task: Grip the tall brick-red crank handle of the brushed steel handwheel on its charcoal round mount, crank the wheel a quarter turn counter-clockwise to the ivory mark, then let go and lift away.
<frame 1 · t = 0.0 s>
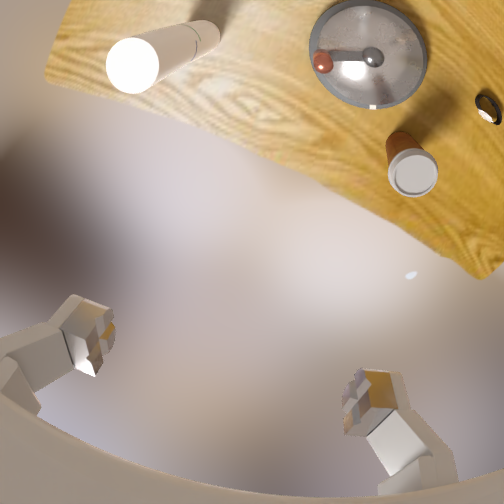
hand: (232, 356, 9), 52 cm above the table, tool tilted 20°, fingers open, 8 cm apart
cylindrical container: (201, 37, 44), on the table
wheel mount: (368, 53, 41), on the table
handwheel: (374, 59, 36), point 7 cm above the table, hinge at 0.0°
watch: (485, 106, 40), on the table
disposable coffee cup: (399, 144, 53), on the table
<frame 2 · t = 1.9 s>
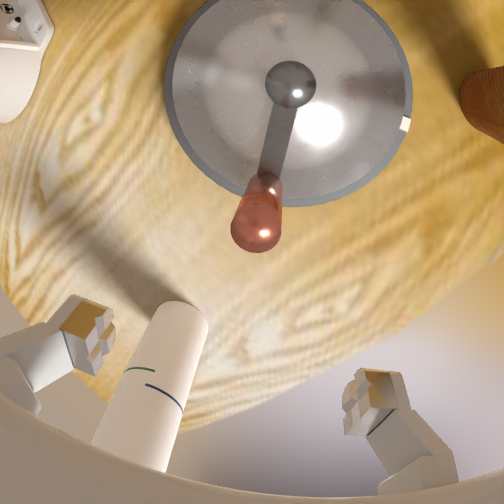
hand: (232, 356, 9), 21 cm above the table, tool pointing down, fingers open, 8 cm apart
cylindrical container: (181, 321, 37), on the table
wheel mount: (289, 87, 23), on the table
handwheel: (290, 87, 17), point 7 cm above the table, hinge at 0.0°
disposable coffee cup: (481, 101, 20), on the table
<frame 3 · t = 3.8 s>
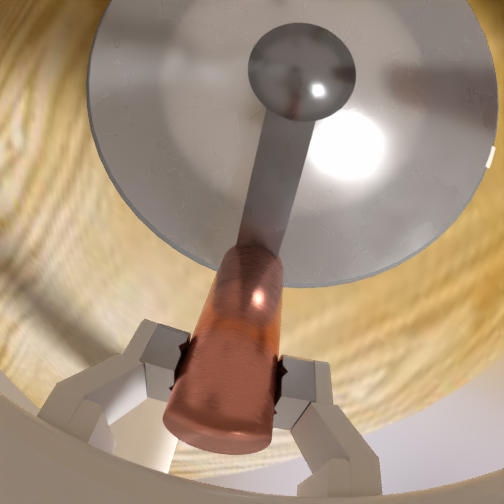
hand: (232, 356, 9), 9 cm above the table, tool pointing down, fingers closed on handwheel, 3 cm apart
cylindrical container: (154, 397, 27), on the table
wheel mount: (297, 81, 13), on the table
handwheel: (303, 74, 7), point 7 cm above the table, hinge at 0.0°, touching gripper
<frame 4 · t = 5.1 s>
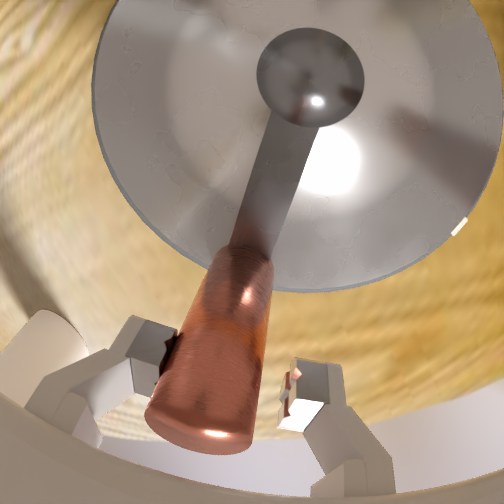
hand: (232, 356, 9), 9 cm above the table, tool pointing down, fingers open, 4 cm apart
cylindrical container: (61, 336, 25), on the table
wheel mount: (304, 85, 13), on the table
handwheel: (312, 80, 7), point 7 cm above the table, hinge at 17.8°, touching gripper
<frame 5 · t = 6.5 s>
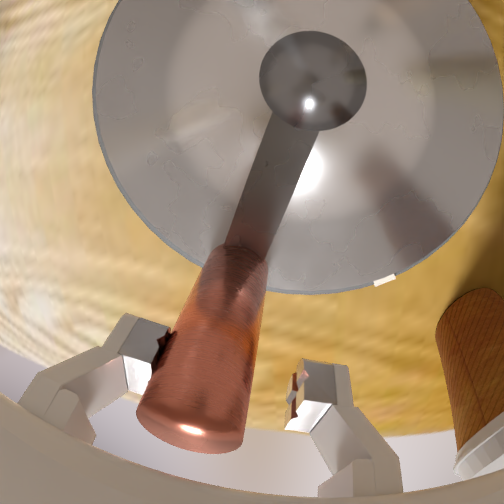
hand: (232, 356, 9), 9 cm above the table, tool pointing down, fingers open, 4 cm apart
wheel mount: (305, 87, 13), on the table
handwheel: (315, 84, 7), point 7 cm above the table, hinge at 43.7°, touching gripper
disposable coffee cup: (468, 319, 18), on the table
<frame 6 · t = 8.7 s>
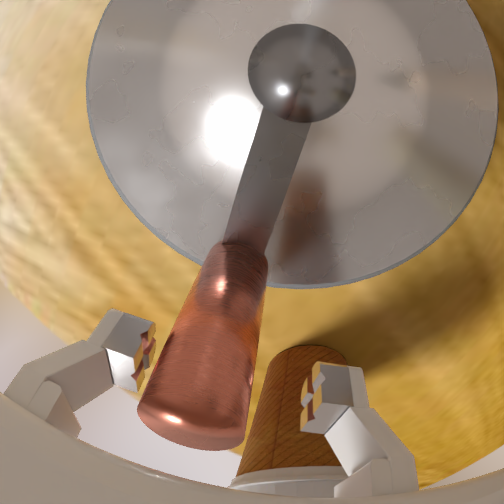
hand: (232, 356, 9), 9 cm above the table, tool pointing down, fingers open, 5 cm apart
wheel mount: (297, 81, 13), on the table
handwheel: (302, 75, 7), point 7 cm above the table, hinge at 85.1°
disposable coffee cup: (307, 369, 22), on the table
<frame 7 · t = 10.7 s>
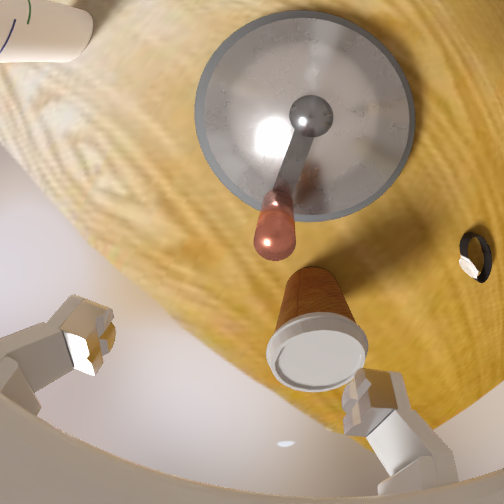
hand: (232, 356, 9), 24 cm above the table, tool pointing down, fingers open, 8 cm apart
cylindrical container: (71, 35, 23), on the table
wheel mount: (307, 114, 27), on the table
handwheel: (312, 121, 21), point 7 cm above the table, hinge at 85.1°
watch: (470, 251, 31), on the table
disposable coffee cup: (311, 288, 36), on the table
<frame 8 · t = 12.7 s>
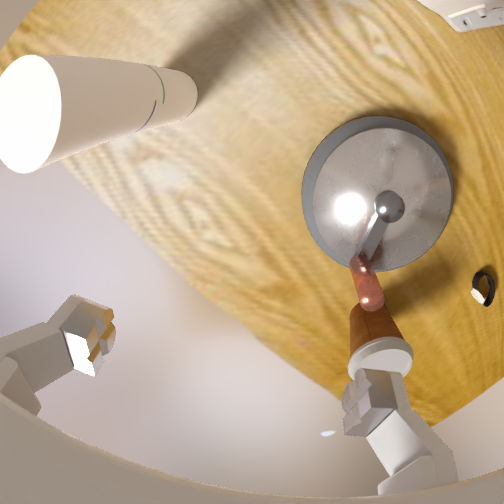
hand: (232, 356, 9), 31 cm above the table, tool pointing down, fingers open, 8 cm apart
cylindrical container: (171, 96, 34), on the table
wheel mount: (380, 195, 37), on the table
handwheel: (395, 218, 31), point 7 cm above the table, hinge at 85.1°
watch: (480, 284, 41), on the table
disposable coffee cup: (368, 313, 46), on the table
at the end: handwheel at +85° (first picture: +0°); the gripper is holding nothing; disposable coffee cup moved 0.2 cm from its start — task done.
